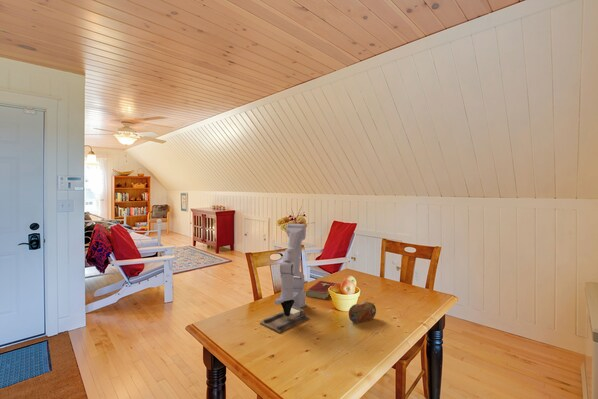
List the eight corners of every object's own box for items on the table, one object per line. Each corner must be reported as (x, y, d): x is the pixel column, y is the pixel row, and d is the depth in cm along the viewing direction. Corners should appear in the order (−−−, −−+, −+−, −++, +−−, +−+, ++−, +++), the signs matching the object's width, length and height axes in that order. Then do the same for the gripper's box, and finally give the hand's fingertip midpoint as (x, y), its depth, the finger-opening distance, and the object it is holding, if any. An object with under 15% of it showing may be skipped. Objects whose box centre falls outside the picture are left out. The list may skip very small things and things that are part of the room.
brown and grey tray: (290, 310, 150) (290, 303, 150) (309, 318, 141) (309, 310, 141) (259, 323, 135) (260, 315, 135) (279, 333, 127) (279, 324, 126)
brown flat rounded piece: (351, 325, 135) (351, 307, 135) (347, 322, 138) (347, 304, 138) (376, 319, 142) (376, 301, 142) (371, 316, 145) (372, 299, 145)
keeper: (291, 312, 146) (291, 307, 146) (300, 316, 142) (300, 310, 141) (284, 315, 142) (284, 310, 142) (293, 319, 138) (293, 314, 138)
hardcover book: (306, 296, 172) (306, 289, 172) (319, 286, 191) (319, 279, 190) (325, 300, 166) (325, 293, 166) (337, 289, 185) (337, 282, 185)
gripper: (291, 281, 147) (291, 308, 147) (270, 288, 136) (270, 317, 136) (302, 284, 142) (301, 312, 143) (281, 292, 131) (280, 322, 132)
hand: (287, 315), depth 139 cm, fingers closed
